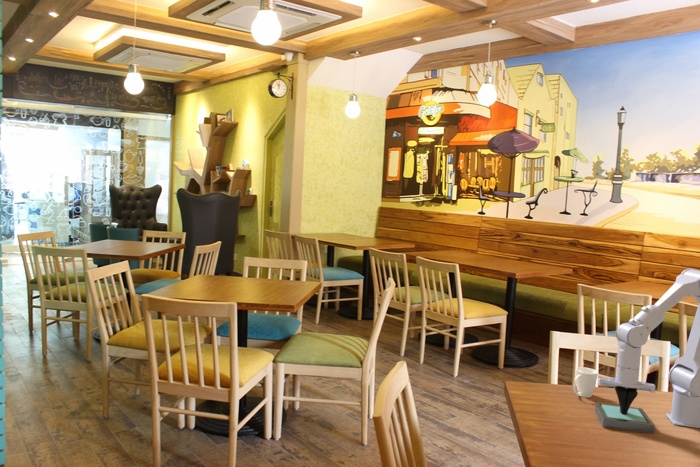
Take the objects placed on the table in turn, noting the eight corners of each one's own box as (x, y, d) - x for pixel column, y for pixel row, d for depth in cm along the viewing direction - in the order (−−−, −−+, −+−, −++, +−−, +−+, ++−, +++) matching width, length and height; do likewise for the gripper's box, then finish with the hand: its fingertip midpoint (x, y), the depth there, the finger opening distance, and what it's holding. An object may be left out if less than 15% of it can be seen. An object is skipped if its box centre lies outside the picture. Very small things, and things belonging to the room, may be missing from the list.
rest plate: (637, 414, 167) (638, 409, 167) (647, 427, 157) (647, 422, 157) (600, 409, 169) (601, 404, 169) (607, 422, 159) (608, 416, 159)
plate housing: (641, 416, 168) (642, 408, 168) (653, 434, 156) (654, 425, 155) (594, 410, 171) (595, 402, 171) (602, 427, 158) (603, 418, 158)
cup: (600, 396, 184) (603, 372, 183) (583, 402, 178) (585, 376, 177) (580, 389, 189) (583, 365, 189) (563, 394, 183) (565, 370, 183)
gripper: (652, 365, 164) (647, 411, 165) (597, 359, 168) (593, 404, 169) (659, 372, 157) (654, 421, 158) (602, 366, 161) (598, 413, 162)
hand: (623, 413), depth 163 cm, fingers closed, pressing on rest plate
